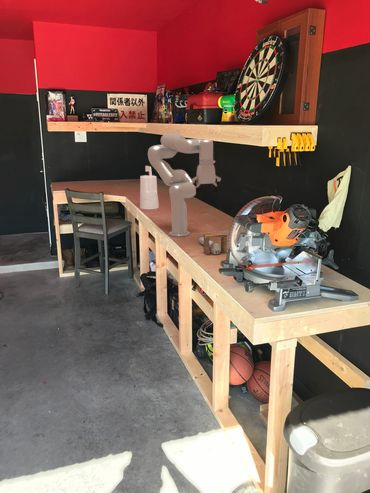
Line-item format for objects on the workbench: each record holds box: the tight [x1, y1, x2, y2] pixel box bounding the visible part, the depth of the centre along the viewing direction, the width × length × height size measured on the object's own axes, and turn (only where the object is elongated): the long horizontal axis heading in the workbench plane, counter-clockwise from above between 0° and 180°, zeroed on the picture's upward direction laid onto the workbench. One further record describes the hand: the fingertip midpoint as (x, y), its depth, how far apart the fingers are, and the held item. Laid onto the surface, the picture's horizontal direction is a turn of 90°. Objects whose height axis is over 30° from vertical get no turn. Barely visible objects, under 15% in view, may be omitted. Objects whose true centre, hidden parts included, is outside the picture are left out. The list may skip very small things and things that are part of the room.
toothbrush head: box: [197, 236, 221, 255], centre depth 235 cm, size 5×7×25 cm
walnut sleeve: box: [203, 232, 228, 256], centre depth 226 cm, size 4×12×10 cm, turn 106°
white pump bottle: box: [139, 165, 160, 210], centre depth 343 cm, size 15×15×33 cm
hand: (206, 193), depth 239 cm, fingers open, 9 cm apart
